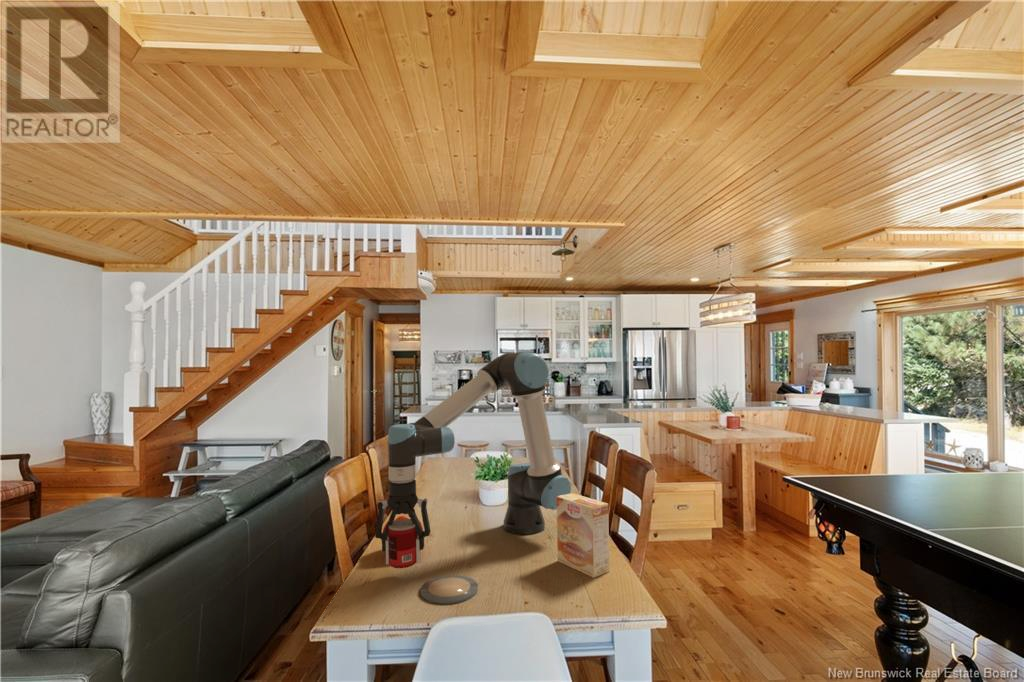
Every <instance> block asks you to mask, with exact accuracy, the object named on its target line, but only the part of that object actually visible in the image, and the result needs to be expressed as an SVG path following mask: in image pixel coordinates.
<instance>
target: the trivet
mask: <svg viewBox="0 0 1024 682" xmlns="http://www.w3.org/2000/svg"><path fill="white" fill-rule="evenodd" d="M478 590H479V586H478V583H477V581H476V580H475V579H474V578H472V577H469V576H466V575H460V574H445V575H440V576H439V575H438V576H436V577H433V578H430V579H428V580H427V581H425V582H424V583H423V584H422V585H421V587H420V596H421V597H422V599H423V600H425V601H426V600H427V602H429V603H431V602H432V604H437V605H453V604H460V603H463V602H466V601H469V600H470V599H472V598H473V597H475V596H476V594H477V593H478ZM459 602H460V603H459Z"/></svg>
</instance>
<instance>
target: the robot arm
mask: <svg viewBox="0 0 1024 682" xmlns="http://www.w3.org/2000/svg"><path fill="white" fill-rule="evenodd" d="M549 373H550V371H549V366H548V364H547V361H546V360H545V358H544V357H542V356H541V355H540V354H539V353H535V352H530V351H523V352H507V353H503V354H501V355H499V356H498V357H496V358H494V359H493V360H491V361H490V362H488V363H487V364H485V365H484V366H482V368H480V369H479V370H478V371H477V372H476V376H474V377H472V379H469V381H467V383H465V384H464V385H462V386H461V387H459V389H457V390H456V391H455V392H453V393H452V394H450V395H449V396H448V397H446V398H445V399H444V400H443V401H441V402H440V403H439V404H437V405H436V406H435V407H433V408H432V409H431V410H430V411H428V412H427V413H426V414H424V415H423V416H422V417H420V418H419V419H417V420H416V421H415V422H408V423H403V424H402V423H399V424H394V425H391V426H390V427H389V428H388V432H387V434H388V435H387V449H388V450H387V451H388V452H387V453H388V480H389V482H388V498H387V499H385V500H383V499H381V500H379V501H378V503H377V510H378V513H377V520H376V525H375V533H374V537H375V538H376V539H380V540H381V550H382V552H385V565H390V563H389V537H388V538H387V536H388V534H389V525H390V526H391V525H392V523H393V521H394V520H395V519H396V516H397V515H402V514H403V515H408V518H409V519H411V521H412V523H413V525H414V524H415V530H416V532H417V534H418V537H417V539H416V558H417V562H416V564H421V563H420V562H421V560H422V558H421V557H422V555H421V553H422V552H421V551H423V550H424V548H425V537H426V538H427V537H430V535H431V526H430V518H429V515H428V508H427V505H428V499H427V498H423V499H422V498H418V496H417V480H416V478H417V473H416V471H417V469H416V468H417V465H416V463H417V462H416V460H417V459H416V457H424V456H432V455H440V454H445V453H450V452H451V451H452V450H453V449H454V447H455V443H456V442H455V440H456V439H455V434H454V431H453V430H452V429H451V428H450V427H449V426H450V425H451V424H452V423H454V422H455V421H456V420H457V419H459V418H460V417H461V416H462V415H464V414H465V413H467V411H469V410H470V409H472V408H473V407H474V406H475V405H476V404H478V403H479V402H480V401H482V400H483V399H484V398H485V397H486V396H488V395H489V394H495V393H496V392H498V391H499V390H501V389H503V388H505V387H509V389H510V393H511V396H512V397H513V398H514V399H516V400H517V405H518V410H519V414H520V416H519V417H520V420H521V426H522V429H523V430H522V431H523V435H524V436H523V437H524V440H525V446H526V450H527V455H528V460H529V461H528V462H520V463H515V464H511V465H510V466H509V467H508V470H507V501H508V502H507V504H508V505H507V509H506V513H505V515H504V519H503V529H504V530H505V531H506V532H508V533H512V534H517V535H530V534H531V535H532V534H538V533H540V532H542V531H544V530H545V528H546V521H545V518H544V514H543V511H542V509H541V507H542V508H544V509H546V510H547V509H549V510H552V511H557V496H560V495H565V494H570V493H572V484H571V482H570V479H569V478H567V476H565V475H563V473H562V468H561V464H560V463H558V462H557V461H556V460H555V453H554V449H553V444H552V439H551V433H550V429H549V423H548V420H547V419H548V418H547V414H546V409H545V404H544V403H545V402H544V398H543V394H544V392H545V390H546V386H545V385H546V383H547V381H548V378H549V375H550V374H549ZM417 504H418V507H419V508H420V512H421V517H422V518H421V519H422V524H423V525H422V527H421V525H420V522H421V521H420V520H419V517H418V515H417V514H416V510H415V506H416V505H417ZM387 506H389V507H390V509H391V513H390V515H389V519H388V521H387V522H388V523H387V522H386V523H387V525H386V524H385V525H386V528H385V530H384V533H382V532H383V525H384V524H383V523H384V519H385V518H384V517H385V509H386V508H387ZM419 521H420V522H419ZM422 528H423V529H422Z"/></svg>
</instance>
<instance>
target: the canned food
mask: <svg viewBox="0 0 1024 682" xmlns="http://www.w3.org/2000/svg"><path fill="white" fill-rule="evenodd" d="M416 539H417V532H416V530H415V524H414V525H413V523H412V521H411V519H410V518H408V519H401V520H396V521H393V523H392V525H391V526H390V525H389V565H390V567H391V568H393V569H406V568H410V567H413V566H415V564H417V558H416Z"/></svg>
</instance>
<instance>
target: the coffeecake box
mask: <svg viewBox="0 0 1024 682" xmlns="http://www.w3.org/2000/svg"><path fill="white" fill-rule="evenodd" d="M556 518H557V519H556V524H557V527H556V530H557V534H556V535H557V536H556V537H557V543H556V545H557V562H559V563H561V564H563V565H565V566H568V567H569V568H571V569H573V570H575V571H578V572H580V573H583V574H585V576H586V575H587V576H588V577H590V578H593V579H594V578H597V577H600V576H601V575H605V574H606V573H609V572H610V532H609V525H610V524H609V522H610V521H609V519H610V518H609V503H607V502H605V501H604V502H603V501H601V500H598V499H593V498H591V497H588V496H583V495H581V494H577V493H574V492H571V493H570V494H565V495H560V496H557V510H556Z"/></svg>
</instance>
